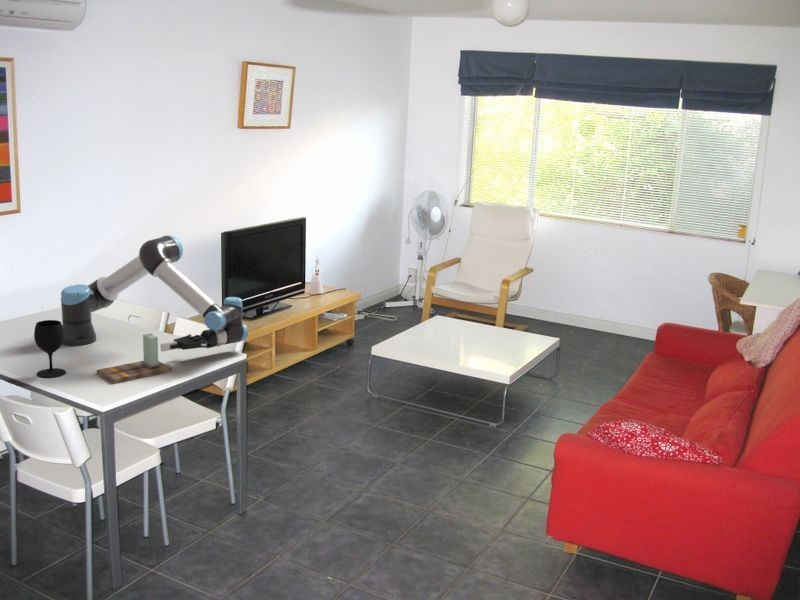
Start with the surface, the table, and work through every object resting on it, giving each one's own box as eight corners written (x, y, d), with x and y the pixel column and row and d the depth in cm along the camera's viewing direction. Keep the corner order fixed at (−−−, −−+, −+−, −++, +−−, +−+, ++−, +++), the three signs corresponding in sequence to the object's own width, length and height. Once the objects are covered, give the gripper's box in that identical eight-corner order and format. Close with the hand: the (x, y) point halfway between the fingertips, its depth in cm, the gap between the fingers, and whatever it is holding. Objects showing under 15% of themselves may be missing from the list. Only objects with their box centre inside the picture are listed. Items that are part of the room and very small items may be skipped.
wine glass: (62, 378, 314) (59, 327, 309) (33, 378, 312) (30, 327, 307) (68, 369, 323) (66, 319, 319) (40, 369, 322) (37, 319, 317)
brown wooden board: (113, 383, 310) (113, 379, 310) (96, 373, 320) (96, 369, 319) (171, 371, 327) (171, 367, 326) (154, 362, 336) (153, 358, 336)
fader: (149, 367, 324) (148, 339, 321) (140, 363, 328) (139, 334, 325) (161, 365, 327) (160, 337, 324) (152, 360, 332) (151, 332, 329)
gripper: (221, 350, 342) (170, 361, 326) (204, 342, 351) (153, 352, 335) (221, 332, 340) (169, 342, 324) (204, 325, 349) (153, 334, 333)
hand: (161, 347), depth 329 cm, fingers closed
